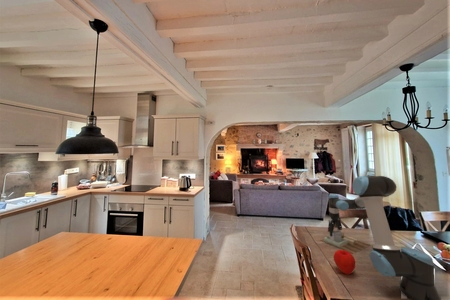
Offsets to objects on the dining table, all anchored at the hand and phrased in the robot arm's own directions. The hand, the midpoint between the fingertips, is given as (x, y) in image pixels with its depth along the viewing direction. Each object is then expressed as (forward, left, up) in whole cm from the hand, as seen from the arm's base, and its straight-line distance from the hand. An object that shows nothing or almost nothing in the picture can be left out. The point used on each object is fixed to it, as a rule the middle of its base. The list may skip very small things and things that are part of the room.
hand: (335, 238), depth 152 cm
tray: (0, 0, -3) cm, 3 cm away
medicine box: (0, 0, -3) cm, 3 cm away
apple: (-33, -25, -5) cm, 42 cm away
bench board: (+6, -4, -4) cm, 8 cm away
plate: (+12, -5, -3) cm, 13 cm away
